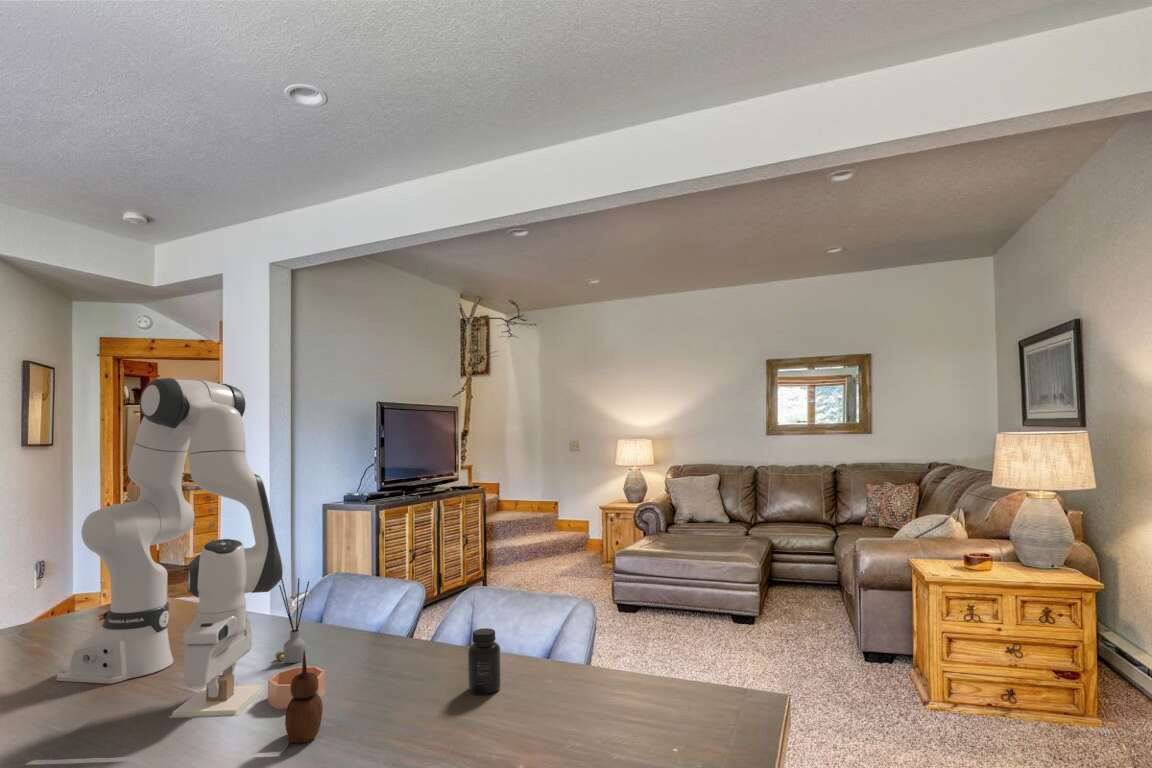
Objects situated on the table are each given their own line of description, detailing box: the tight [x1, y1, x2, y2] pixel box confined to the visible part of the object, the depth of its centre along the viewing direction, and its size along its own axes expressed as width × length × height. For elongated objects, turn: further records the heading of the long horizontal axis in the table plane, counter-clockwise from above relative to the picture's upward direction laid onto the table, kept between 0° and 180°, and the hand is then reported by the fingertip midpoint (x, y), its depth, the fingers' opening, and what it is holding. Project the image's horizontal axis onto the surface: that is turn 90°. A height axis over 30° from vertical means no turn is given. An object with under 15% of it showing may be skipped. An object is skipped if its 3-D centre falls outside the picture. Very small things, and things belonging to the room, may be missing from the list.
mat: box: [168, 687, 267, 719], centre depth 131 cm, size 13×13×1 cm
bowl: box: [267, 665, 327, 710], centre depth 132 cm, size 10×10×5 cm
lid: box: [172, 674, 264, 716], centre depth 131 cm, size 12×12×5 cm
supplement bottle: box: [467, 628, 502, 696], centre depth 137 cm, size 7×7×12 cm
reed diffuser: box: [275, 578, 310, 664], centre depth 153 cm, size 10×7×20 cm
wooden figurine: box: [284, 649, 324, 744], centre depth 117 cm, size 7×6×15 cm
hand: (220, 691), depth 131 cm, fingers closed on lid, 3 cm apart
